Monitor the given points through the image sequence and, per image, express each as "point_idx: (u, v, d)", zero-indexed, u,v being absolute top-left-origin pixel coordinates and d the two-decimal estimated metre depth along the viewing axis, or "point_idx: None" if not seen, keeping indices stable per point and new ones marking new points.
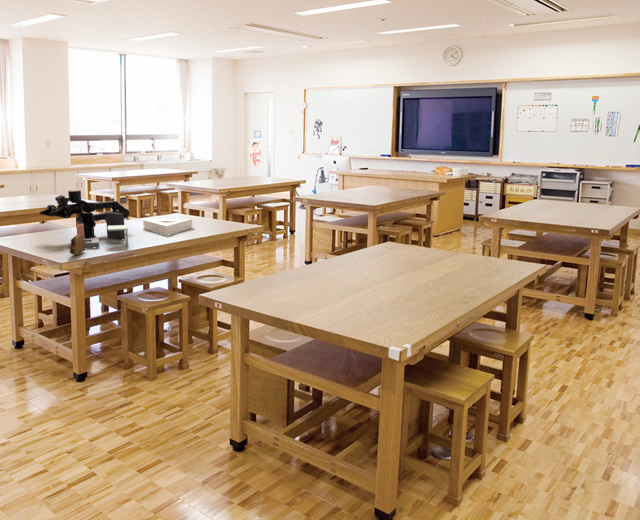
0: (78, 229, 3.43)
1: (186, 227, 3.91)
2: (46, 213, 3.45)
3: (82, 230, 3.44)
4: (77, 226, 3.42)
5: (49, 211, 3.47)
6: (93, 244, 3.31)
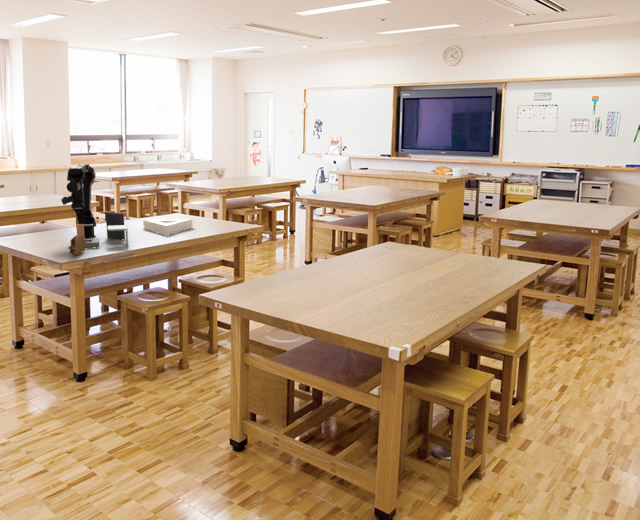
0: (78, 229, 3.43)
1: (186, 227, 3.91)
2: None
3: (82, 230, 3.44)
4: (77, 226, 3.42)
5: None
6: (93, 244, 3.31)
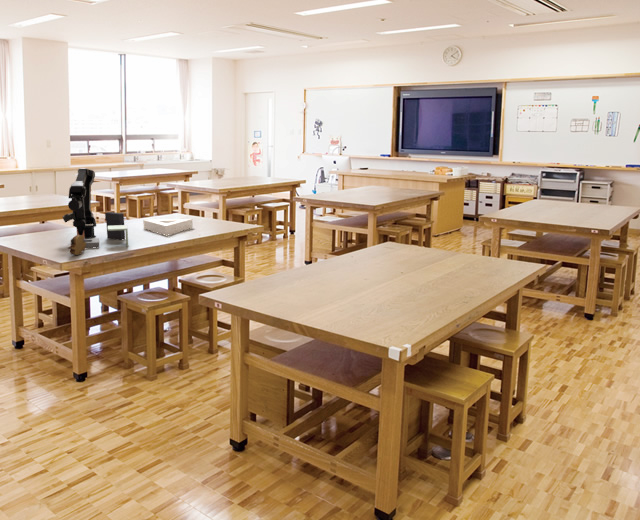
0: None
1: (186, 227, 3.91)
2: None
3: None
4: None
5: None
6: (93, 244, 3.31)
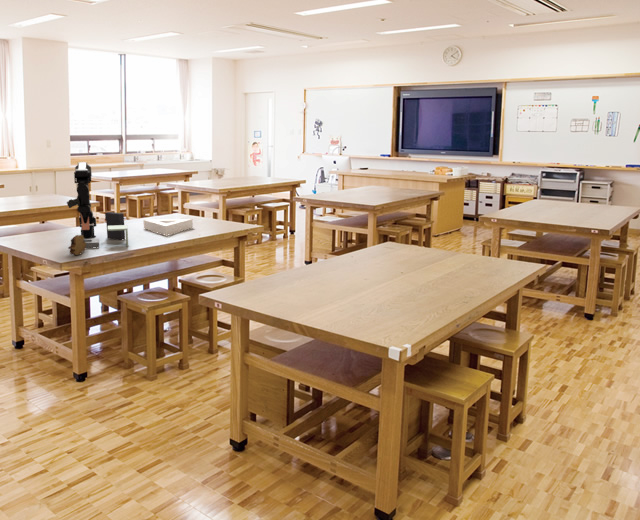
0: None
1: (186, 227, 3.91)
2: None
3: None
4: None
5: None
6: (93, 244, 3.31)
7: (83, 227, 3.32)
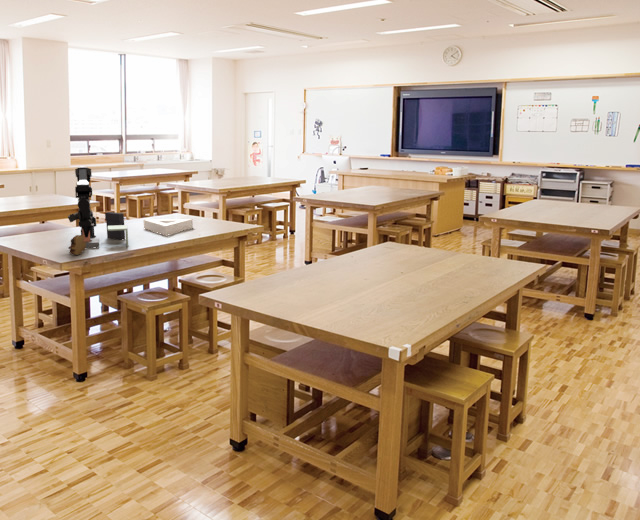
0: None
1: (186, 227, 3.90)
2: None
3: None
4: None
5: None
6: (93, 244, 3.31)
7: (84, 241, 3.34)
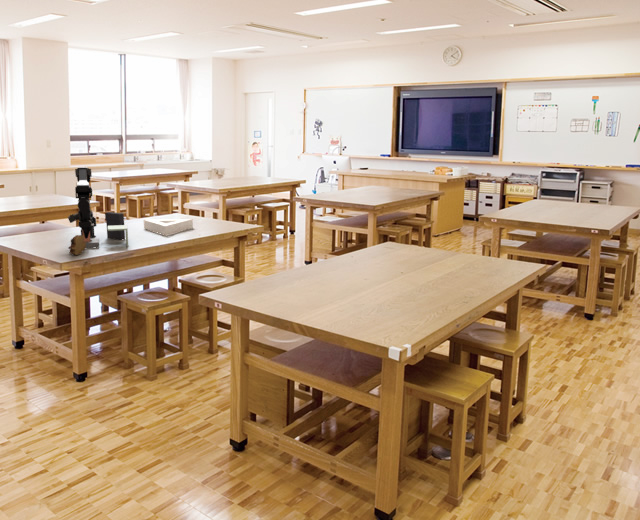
0: None
1: (186, 227, 3.90)
2: None
3: None
4: None
5: None
6: (93, 244, 3.31)
7: None
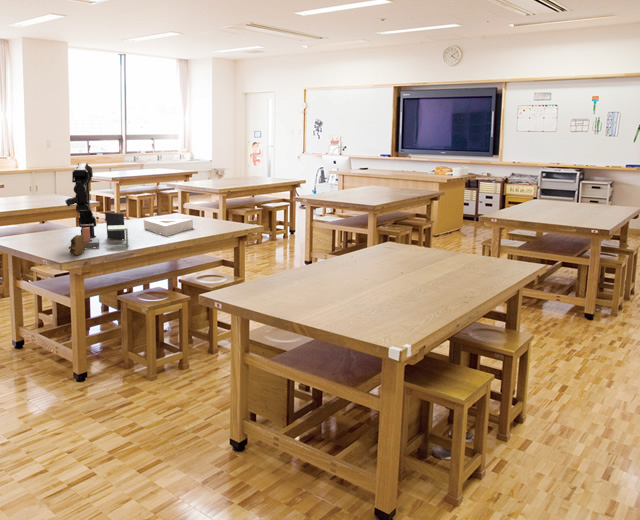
0: (84, 232, 3.33)
1: (186, 227, 3.90)
2: None
3: (88, 233, 3.33)
4: (83, 229, 3.32)
5: None
6: (93, 244, 3.31)
7: None
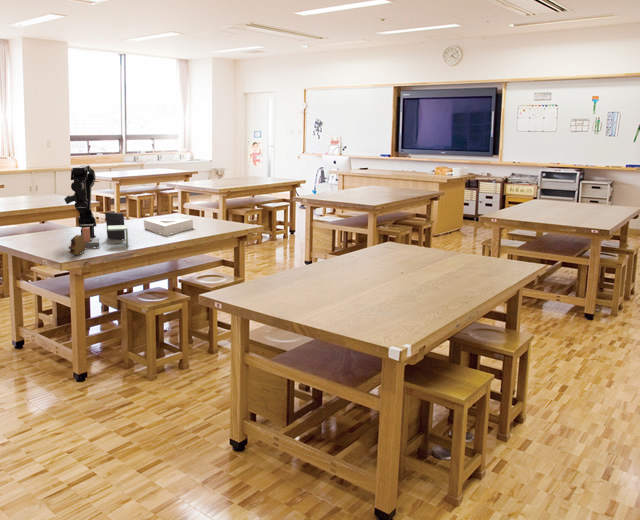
0: (84, 232, 3.33)
1: (186, 227, 3.90)
2: None
3: (88, 233, 3.33)
4: (83, 229, 3.32)
5: None
6: (93, 244, 3.31)
7: None
